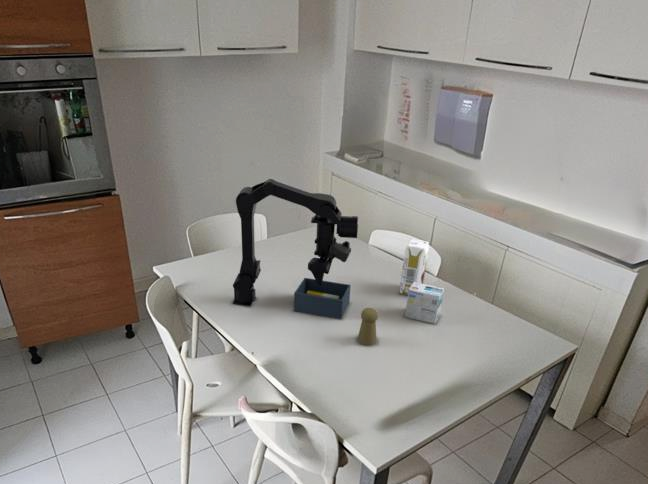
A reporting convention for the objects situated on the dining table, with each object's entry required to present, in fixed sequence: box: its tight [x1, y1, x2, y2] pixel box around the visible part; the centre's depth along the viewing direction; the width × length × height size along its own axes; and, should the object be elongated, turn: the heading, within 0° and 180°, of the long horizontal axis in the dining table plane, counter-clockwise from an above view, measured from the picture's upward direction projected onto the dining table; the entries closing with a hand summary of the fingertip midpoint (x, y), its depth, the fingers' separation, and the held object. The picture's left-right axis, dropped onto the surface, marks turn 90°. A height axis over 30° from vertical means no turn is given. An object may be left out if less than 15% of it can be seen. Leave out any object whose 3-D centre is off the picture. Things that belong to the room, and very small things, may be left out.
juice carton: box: [399, 238, 430, 296], centre depth 189 cm, size 8×9×19 cm
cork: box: [357, 307, 379, 347], centre depth 162 cm, size 6×6×11 cm
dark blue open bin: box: [293, 277, 352, 320], centre depth 181 cm, size 17×12×7 cm
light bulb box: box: [404, 282, 445, 325], centre depth 176 cm, size 11×7×11 cm, turn 65°
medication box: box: [306, 291, 341, 300], centre depth 181 cm, size 12×3×4 cm, turn 73°
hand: (323, 279), depth 177 cm, fingers open, 9 cm apart
